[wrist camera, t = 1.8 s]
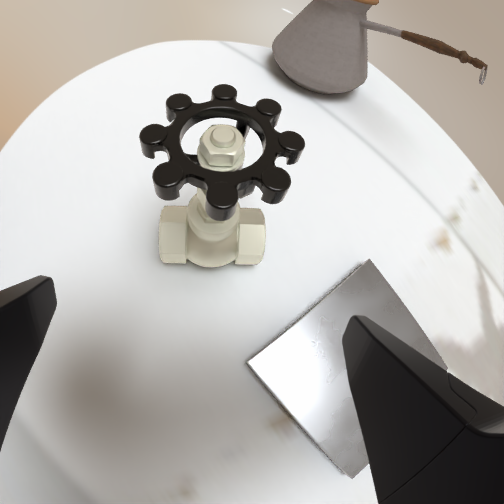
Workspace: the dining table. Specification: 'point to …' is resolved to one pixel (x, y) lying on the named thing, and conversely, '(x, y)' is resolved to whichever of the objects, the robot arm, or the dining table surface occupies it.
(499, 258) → the dining table surface
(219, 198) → the valve
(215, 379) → the dining table surface
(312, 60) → the coffee pot
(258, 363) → the steel seat plate
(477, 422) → the robot arm
